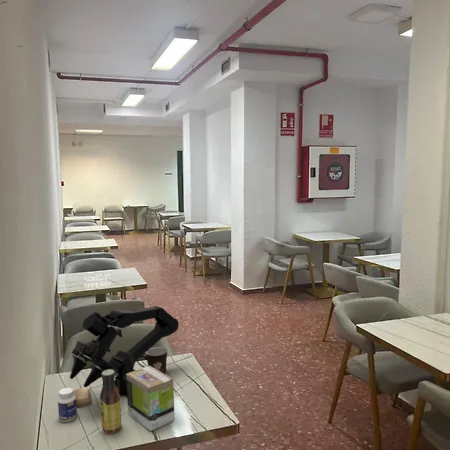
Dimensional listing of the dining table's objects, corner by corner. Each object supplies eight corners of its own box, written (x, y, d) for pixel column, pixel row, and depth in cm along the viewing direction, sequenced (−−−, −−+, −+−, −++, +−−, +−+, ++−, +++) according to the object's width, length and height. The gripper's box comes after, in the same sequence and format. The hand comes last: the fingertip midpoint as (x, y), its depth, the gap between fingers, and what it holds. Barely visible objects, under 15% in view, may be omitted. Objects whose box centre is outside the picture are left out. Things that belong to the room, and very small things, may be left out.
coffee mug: (171, 370, 182) (170, 347, 181) (163, 380, 174) (162, 356, 173) (145, 368, 185) (144, 346, 184) (136, 378, 176) (135, 354, 175)
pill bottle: (71, 423, 145) (68, 395, 144) (55, 422, 147) (53, 394, 145) (80, 414, 151) (78, 387, 150) (65, 413, 152) (63, 385, 151)
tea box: (176, 420, 146) (174, 378, 144) (150, 432, 139) (147, 388, 137) (152, 403, 157) (150, 363, 155) (127, 413, 150) (124, 373, 149)
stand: (90, 391, 166) (90, 385, 166) (91, 404, 157) (91, 398, 157) (62, 397, 163) (62, 391, 163) (62, 410, 154) (61, 404, 153)
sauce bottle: (104, 424, 144) (100, 367, 142) (123, 423, 145) (119, 366, 142) (100, 436, 138) (95, 376, 135) (120, 434, 138) (116, 375, 136)
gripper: (74, 325, 159) (47, 365, 152) (103, 337, 146) (74, 381, 139) (95, 340, 165) (70, 378, 159) (124, 352, 153) (98, 394, 146)
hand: (77, 382), depth 151 cm, fingers open, 9 cm apart
